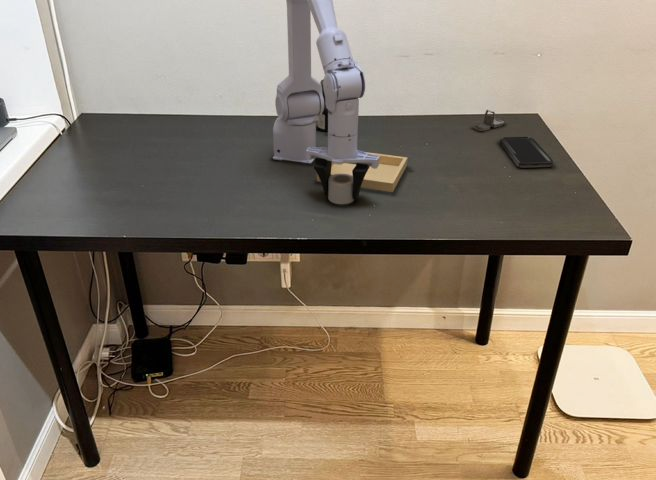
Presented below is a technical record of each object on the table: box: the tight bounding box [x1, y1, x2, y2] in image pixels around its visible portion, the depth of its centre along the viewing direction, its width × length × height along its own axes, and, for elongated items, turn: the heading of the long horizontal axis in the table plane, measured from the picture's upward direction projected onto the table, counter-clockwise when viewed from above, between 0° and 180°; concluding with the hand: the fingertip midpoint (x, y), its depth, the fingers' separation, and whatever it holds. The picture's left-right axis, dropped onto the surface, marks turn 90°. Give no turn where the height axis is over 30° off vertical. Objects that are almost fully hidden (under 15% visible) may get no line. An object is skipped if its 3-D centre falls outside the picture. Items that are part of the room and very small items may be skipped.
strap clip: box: [472, 109, 505, 132], centre depth 163 cm, size 8×3×4 cm, turn 122°
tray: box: [316, 151, 408, 193], centre depth 141 cm, size 17×14×3 cm
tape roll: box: [327, 174, 355, 205], centre depth 131 cm, size 5×5×5 cm
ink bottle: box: [316, 78, 328, 134], centre depth 162 cm, size 10×9×12 cm
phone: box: [499, 136, 554, 169], centre depth 149 cm, size 8×1×15 cm
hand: (341, 195), depth 132 cm, fingers closed on tape roll, 5 cm apart
